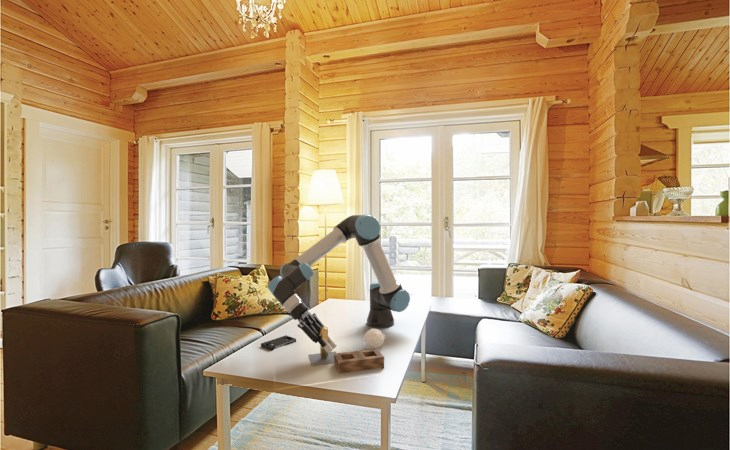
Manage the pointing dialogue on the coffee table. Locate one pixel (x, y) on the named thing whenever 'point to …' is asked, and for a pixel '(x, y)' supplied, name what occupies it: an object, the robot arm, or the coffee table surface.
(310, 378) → the coffee table surface
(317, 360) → the slate rubber mat
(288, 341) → the vhs tape
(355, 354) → the walnut hole block
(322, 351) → the brass peg
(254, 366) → the coffee table surface
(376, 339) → the beige faceted ovoid
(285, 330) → the coffee table surface
